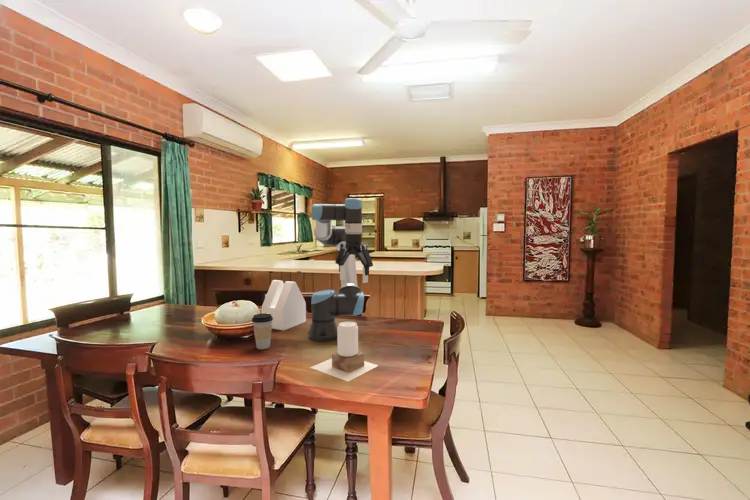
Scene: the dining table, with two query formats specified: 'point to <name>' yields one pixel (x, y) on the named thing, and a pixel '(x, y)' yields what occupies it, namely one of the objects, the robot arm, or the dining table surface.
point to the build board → (328, 369)
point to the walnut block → (348, 362)
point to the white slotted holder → (284, 305)
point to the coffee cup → (262, 330)
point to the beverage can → (347, 339)
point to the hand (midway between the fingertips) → (353, 281)
